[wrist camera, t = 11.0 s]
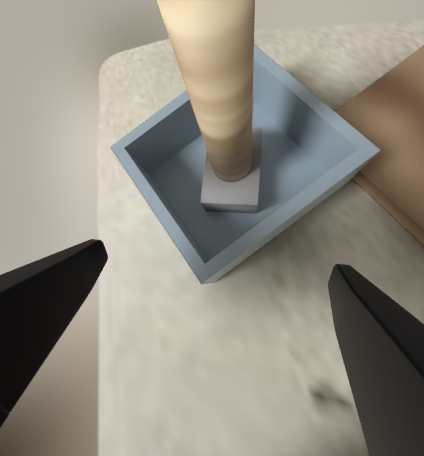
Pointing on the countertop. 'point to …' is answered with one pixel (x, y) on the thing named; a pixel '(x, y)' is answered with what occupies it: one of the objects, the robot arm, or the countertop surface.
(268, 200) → the box
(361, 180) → the far plate
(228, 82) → the rubber stamp
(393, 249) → the countertop surface
